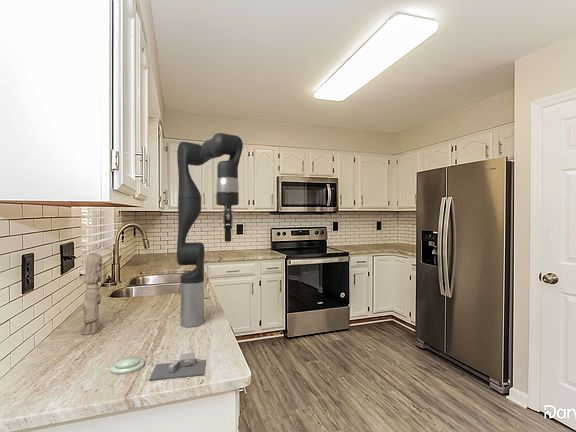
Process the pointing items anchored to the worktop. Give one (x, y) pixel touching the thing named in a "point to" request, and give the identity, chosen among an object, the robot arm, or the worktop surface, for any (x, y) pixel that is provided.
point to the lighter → (182, 362)
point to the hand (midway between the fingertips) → (227, 241)
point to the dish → (127, 365)
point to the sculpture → (92, 294)
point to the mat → (177, 371)
